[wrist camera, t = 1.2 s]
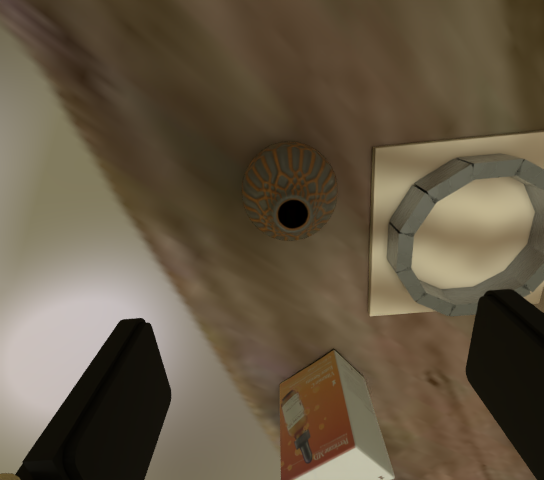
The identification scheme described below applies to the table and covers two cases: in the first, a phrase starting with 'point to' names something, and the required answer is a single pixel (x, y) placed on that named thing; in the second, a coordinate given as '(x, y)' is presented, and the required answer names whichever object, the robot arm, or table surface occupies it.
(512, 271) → the ring collar
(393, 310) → the birch board
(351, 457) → the small box
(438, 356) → the table surface
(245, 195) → the vase
